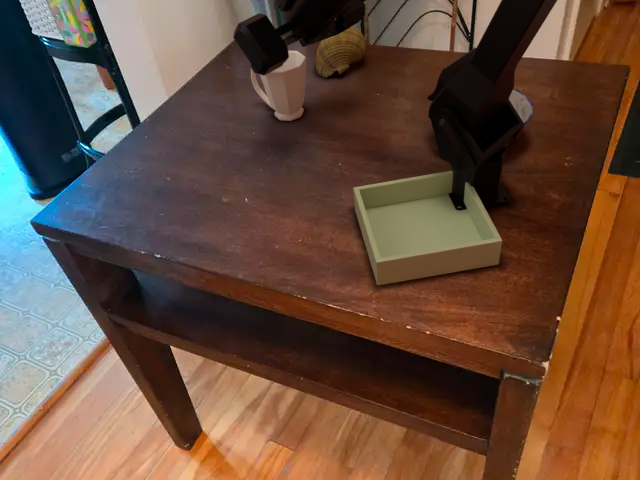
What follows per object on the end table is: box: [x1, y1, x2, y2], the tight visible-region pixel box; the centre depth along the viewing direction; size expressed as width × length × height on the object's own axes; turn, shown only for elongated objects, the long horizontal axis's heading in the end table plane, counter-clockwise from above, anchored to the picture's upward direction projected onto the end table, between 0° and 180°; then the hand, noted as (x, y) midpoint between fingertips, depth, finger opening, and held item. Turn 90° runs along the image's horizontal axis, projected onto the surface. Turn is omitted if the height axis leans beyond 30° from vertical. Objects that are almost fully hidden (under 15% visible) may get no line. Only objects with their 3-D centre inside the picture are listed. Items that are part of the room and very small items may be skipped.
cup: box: [250, 50, 307, 122], centre depth 87 cm, size 7×10×8 cm
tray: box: [353, 170, 503, 286], centre depth 67 cm, size 13×13×3 cm
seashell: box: [315, 26, 367, 79], centre depth 97 cm, size 10×7×8 cm
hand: (278, 56), depth 83 cm, fingers open, 9 cm apart
